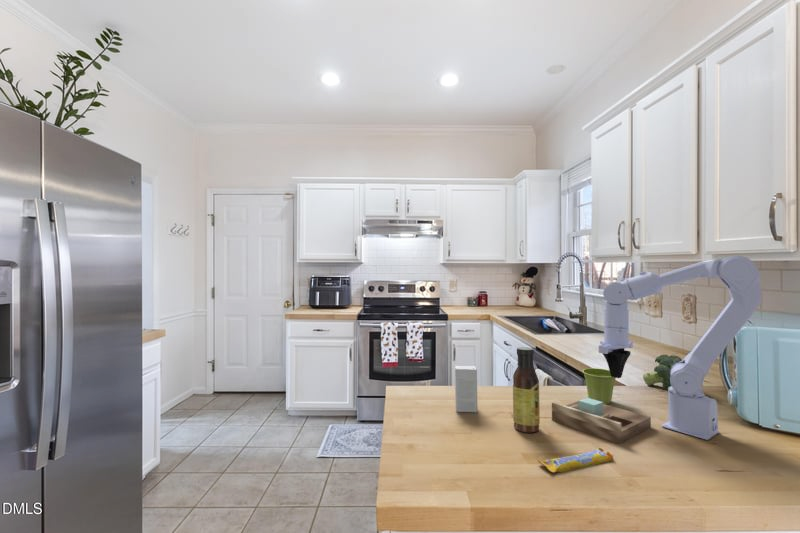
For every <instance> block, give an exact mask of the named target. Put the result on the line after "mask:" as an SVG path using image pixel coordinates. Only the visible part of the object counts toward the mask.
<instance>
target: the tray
mask: <svg viewBox="0 0 800 533" xmlns="http://www.w3.org/2000/svg"><path fill="white" fill-rule="evenodd" d="M651 418H652V417H651V416H647V415H644V414H641V413H638V412H633V411H630V410H628V409H627V410H626V409H624V408H619V407H616V406H613V405H609V404H603V415H601V416H597V415H594V414H591V413H588V412H584V411H581V410H579V400H578V401H575V402H572V403H570V404H569V403H568V404H566V405H564V404H562V403H558V402H555V401H553V402H551V421H553V422H557V423H559V424H563V425H565V426H568V427H571V428H573V429H576V430H580V431H581V432H585V433H588V434H590V435H593V436H596V437H599V438H601V439H605V440H607V441H610V442H613V443H616V444H618V443H619V444H618V445H621V443H624V442H625V441H627V440H629V439H631V438H633V437H635V436H636V435H639V434H640V433H643V432H644V431H646V430H648V429H650V428H652V424H651V423H652V422H651V421H652V419H651Z"/></svg>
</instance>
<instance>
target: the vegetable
mask: <svg viewBox="0 0 800 533" xmlns="http://www.w3.org/2000/svg"><path fill="white" fill-rule="evenodd" d="M682 360H683V359H682V358H681V357H680V356H678V355H674V354H673V355H668V354H661V355H659V356H657V357H656V358H655V359H654V362H655V363H658V365H656V366H655V367H654V369H653V371H654V372H646V373H645V372H644V373H643V374H642V378H643V381H644V383H645V384H646V385H647V386H654V385H655V384H657V383H661V384H662V387H663V389H665V390H666V391H667V392H668V388H669V387H671V383H670V377H671V375H670V370H671V368H672V366H673V365H675V364H676V363H679V362H681V361H682Z"/></svg>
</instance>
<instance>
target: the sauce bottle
mask: <svg viewBox="0 0 800 533" xmlns="http://www.w3.org/2000/svg"><path fill="white" fill-rule="evenodd" d="M534 354H535V351H534V348H532V347H525V346H521V347H517V348H516V355H517V367H516V369H515V370H514V371H513V372H514V373H513V375H512V379H513V380H512V382H513V384H512V411H513V412H512V413H513V414H512V415H513V416H512V418H513V420H512V421H513V427H514V428H515V430H518V431H519V432H522V433H535V432H538V431H539V429H540V423H541V422H540V420H541V419H540V418H541V417H540V413H541V412H540V380H539V377H538V375H537V372H536V369H535V367H534Z"/></svg>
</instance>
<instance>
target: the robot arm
mask: <svg viewBox="0 0 800 533" xmlns="http://www.w3.org/2000/svg"><path fill="white" fill-rule="evenodd" d="M697 278H709V279H718V278H719V279H720V280H721V282H723V284H725V285H726V289H727V291H728V293H729V296H730V301H729V302H728V303H727V304H726V306H725V307H724V308H723V309H722V311H721V312H720V314H719V315H718V316H717V317H716V319H715V320H714V321H713V323H712V324H711V325H710V327H709V328H707V330H706V332H705V333H704V334H703V336H702V337H701V338H700V340H698V342H697V343H696V344H695V346H694V347H693V349H692V350H691V351H690V352H689V353H688V354H687V355H685V357H684V358H683V359H682V361H681V362H679V363H676V364H675V365H673V366H672V368H671V370H670V375H671V377H670V383H671V387H669V388H668V391H667V403H668V404H667V406H668V407H667V410H668V415H667V416H668V421H666V422H665V423H662V424H661V427H663V428H666V429H668V430H672V431H676V432H679V433H682V434H685V435H689V436H692V437H696V438H700V439H703V440H705V441H709V440H710V439H711V438H713V437H714V436H716V435H717V434H719V433H720V430H719V409H718V408H719V407H718V401H717V400H716V399H715V398H711V397H708V396H706V395H705V392H704V391H703V390H702V389H703V386H704V380H705V378H706V377H707V375H708V374H709V371H710V369H711V367H712V365H713V364H714V363H715V362H716V361H717V359H718V358H719V357H720V355H721V354H722V353H723V352H724V350H725V349H726V348H727V347H728V345H729V344H730V343H731V341H732V340H733V339H734V337H735V336H736V335H737V334H738V333H739V332H740V330H741V329H742V327H744V325H745V324H746V323H747V322H748V321H749V319H750V318H751V317H752V315H754V312H756V311H757V309H758V308H759V306H760V305H761V303H762V292H761V289H762V288H761V272H760V270H759V269H758V267H757V266H756V264H755V263H754V262H753V260H752V259H750V258H749V257H747V256H743V255H732V256H728V257H725V258H716V259H711V260H703V261H698V262H696V263H692V264H690V265H687V266H683V267H680V268H677V269H674V270H671V271H668V272H667V271H666V272H664V273H661V274H658V273H654V272H652V271H649V272H646V270H645V271H641V272H639V274H638V275H636V276H632V277H628V278H624V277H622V278H620V279H619V280H620V281H619V282H618V281H614V282H611V283H609V284H607V285H606V286H605V287H604V289H603V292H602V293H603V298H604V300H605V301H604V311H603V312H604V313H603V314H604V316H603V317H604V319H603V320H604V321H603V322H604V323H603V324H604V325H603V326H604V328H603V329H604V330H603V331H604V332H603V334H604V335H603V336H604V337H603V339H604V340H600V341H599V342H600V345H598V353H599V354H602V355H603V357H604V359H605V360H606V363H607V366H608V370H610V374H611V377H615V378H616V379H620V378H622V377H623V373H624V369H625V366H626V363H627V361H628V359H629V357H630V356H631V351H630V350H625V349H632V348H634V345H633V344H634V340H630V338H629V335H630V334H629V330H630V329H629V322H630V320H629V319H630V317H629V309H628V307H629V306H628V303H629V302H628V300H633V301H635V300H638V299H642V298H645V297H650V296H653V295H656V294H660V293H661V291H662V290H663V288H664V287H665V286H669V285H673V284H677V283H682V282H685V281H691V280H693V279H697Z"/></svg>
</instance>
